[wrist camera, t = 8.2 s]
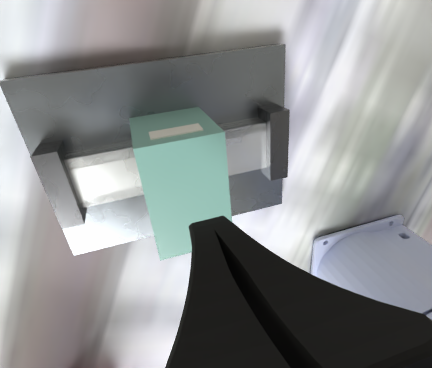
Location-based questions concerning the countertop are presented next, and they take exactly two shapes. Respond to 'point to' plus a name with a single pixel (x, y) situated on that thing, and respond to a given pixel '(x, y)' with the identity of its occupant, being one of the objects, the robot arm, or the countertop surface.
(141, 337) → the countertop surface
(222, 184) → the block
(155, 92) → the rail plate
